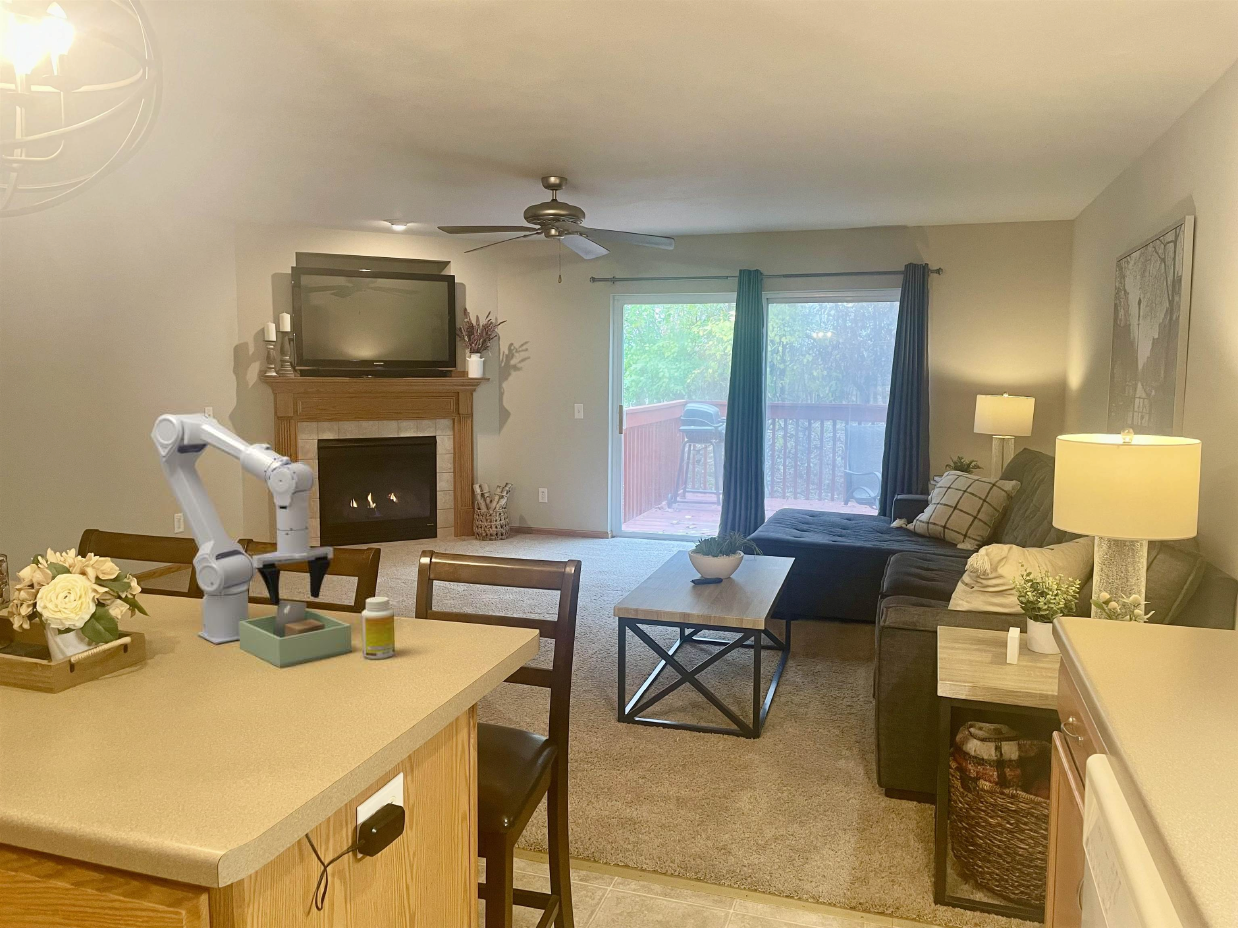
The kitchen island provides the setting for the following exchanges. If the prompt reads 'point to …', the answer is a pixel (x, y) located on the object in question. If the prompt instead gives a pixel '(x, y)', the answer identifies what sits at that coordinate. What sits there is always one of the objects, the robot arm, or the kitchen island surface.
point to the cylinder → (288, 615)
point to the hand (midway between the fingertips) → (295, 600)
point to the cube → (303, 627)
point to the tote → (295, 640)
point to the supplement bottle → (378, 629)
